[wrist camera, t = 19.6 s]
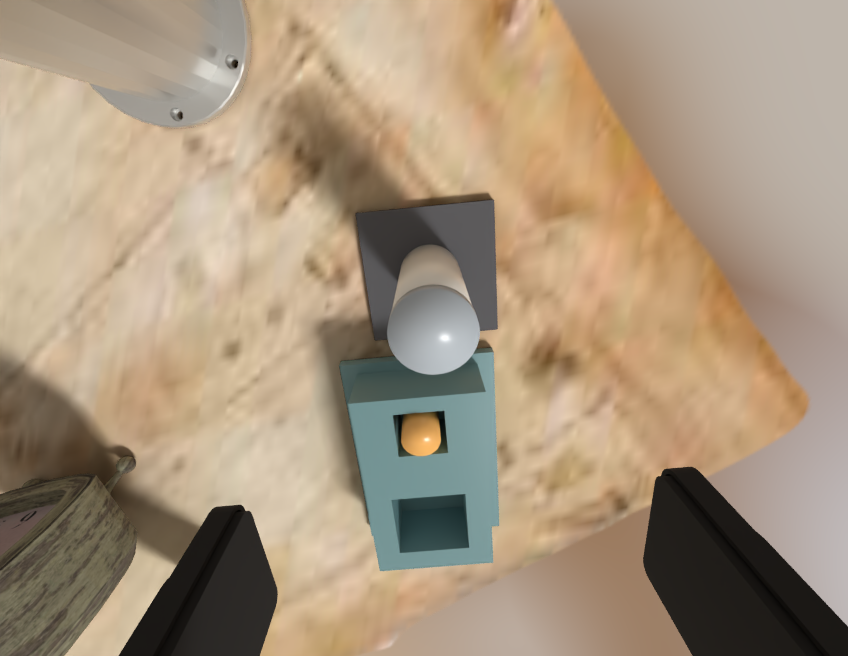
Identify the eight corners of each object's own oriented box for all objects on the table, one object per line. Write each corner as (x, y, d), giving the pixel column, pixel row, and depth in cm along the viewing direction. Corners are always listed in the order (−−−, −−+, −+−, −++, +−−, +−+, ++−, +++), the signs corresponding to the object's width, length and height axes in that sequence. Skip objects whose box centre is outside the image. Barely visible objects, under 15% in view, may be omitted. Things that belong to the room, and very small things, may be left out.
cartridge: (395, 247, 32) (380, 295, 21) (457, 240, 32) (476, 284, 20) (403, 306, 34) (394, 378, 23) (462, 299, 34) (482, 369, 22)
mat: (356, 212, 32) (355, 213, 31) (492, 199, 31) (494, 199, 31) (375, 337, 36) (374, 340, 35) (496, 326, 35) (497, 329, 35)
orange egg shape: (401, 396, 35) (398, 425, 31) (436, 393, 35) (439, 421, 31) (405, 425, 36) (403, 457, 32) (439, 422, 36) (442, 454, 32)
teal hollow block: (341, 361, 36) (327, 394, 31) (491, 347, 36) (504, 379, 31) (373, 528, 44) (366, 579, 39) (497, 518, 44) (508, 568, 38)
